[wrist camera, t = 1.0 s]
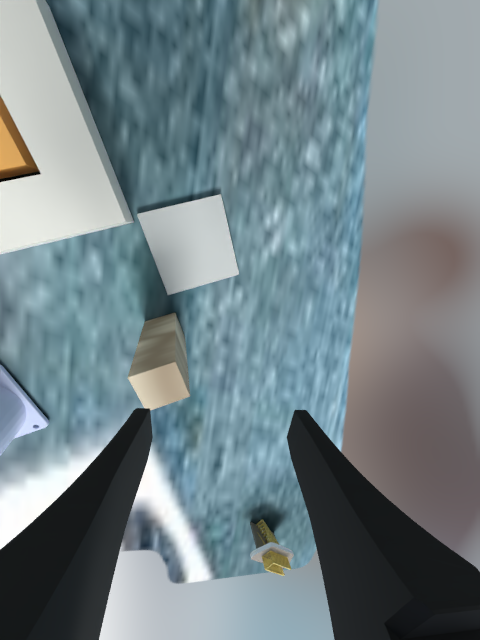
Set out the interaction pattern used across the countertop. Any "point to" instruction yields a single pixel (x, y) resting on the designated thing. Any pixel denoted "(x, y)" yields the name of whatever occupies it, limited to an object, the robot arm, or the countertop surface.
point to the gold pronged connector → (269, 549)
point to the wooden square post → (160, 363)
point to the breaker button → (13, 148)
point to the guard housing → (51, 138)
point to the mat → (190, 243)
